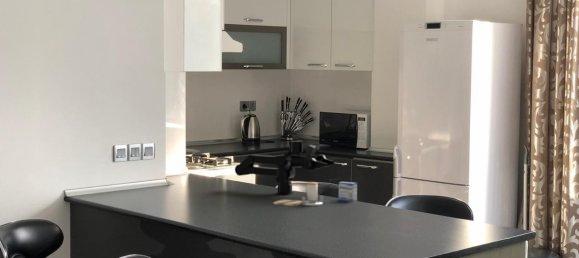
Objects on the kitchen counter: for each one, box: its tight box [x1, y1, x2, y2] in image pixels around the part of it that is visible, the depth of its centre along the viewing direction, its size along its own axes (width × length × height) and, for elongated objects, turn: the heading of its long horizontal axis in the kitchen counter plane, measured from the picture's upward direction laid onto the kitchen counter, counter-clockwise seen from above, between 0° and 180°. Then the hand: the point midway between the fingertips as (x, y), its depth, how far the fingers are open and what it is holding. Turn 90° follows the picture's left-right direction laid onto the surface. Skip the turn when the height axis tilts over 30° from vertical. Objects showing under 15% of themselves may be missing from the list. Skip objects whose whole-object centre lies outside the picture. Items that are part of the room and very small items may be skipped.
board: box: [273, 198, 302, 207], centre depth 375 cm, size 11×9×1 cm
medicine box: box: [338, 181, 358, 202], centre depth 385 cm, size 8×4×9 cm, turn 62°
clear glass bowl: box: [301, 195, 324, 207], centre depth 374 cm, size 10×10×4 cm
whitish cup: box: [306, 181, 319, 201], centre depth 374 cm, size 5×5×8 cm
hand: (330, 163), depth 392 cm, fingers open, 9 cm apart
